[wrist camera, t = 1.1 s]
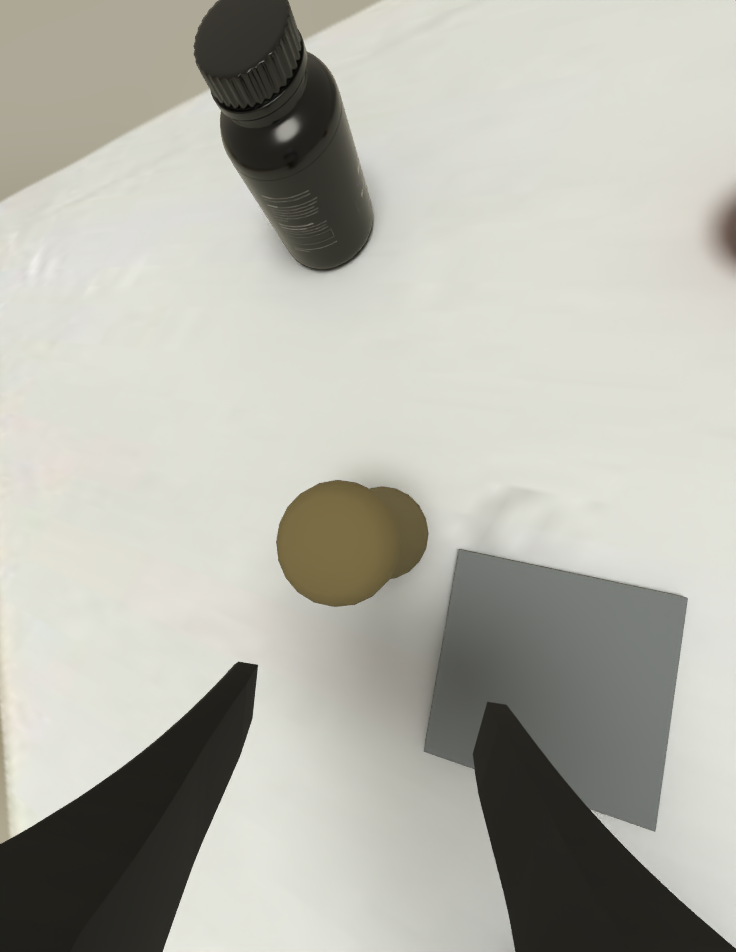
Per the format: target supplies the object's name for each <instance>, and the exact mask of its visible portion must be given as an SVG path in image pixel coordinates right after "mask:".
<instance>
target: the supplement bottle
mask: <svg viewBox="0 0 736 952" xmlns="http://www.w3.org/2000/svg"><path fill="white" fill-rule="evenodd" d="M194 49H195V51H194V56H195V59H196V64H197V66H198V68H199V70H200V72H201V74H202V76H203V77H204V79H205V81H206V83H207V85H208V86H209V88H210V90H211V94H212V97H213V99H214V101H215V102H216V104H217V105H218V107H219V108H220V110H221V115H220V129H221V137H222V142H223V145H224V148H225V151H226V153H227V155H228V157H229V158H230V160H231V162H232V163H233V165H234V167H235V168H236V170H237V171H238V173H239V175H240V176H241V178H242V179H243V181H244V182H245V184H246V185H247V187H248V189H249V190H250V192H251V193H252V195H253V196H254V198H255V199H256V201H257V203H258V204H259V206H260V207H261V209H262V210H263V212H264V213H265V215H266V217H267V218H268V220H269V221H270V223H271V224H272V226H273V227H274V229H275V231H276V232H277V234H278V235H279V237H280V238H281V240H282V241H283V243H284V245H285V246H286V247H287V249H288V250H289V252H290V253H291V254H292V256H293V257H294V258H295V259H296V260H297V261H299V262H300V263H301V264H303V265H305V266H308V267H311V268H315V269H328V268H333V267H336V266H339V265H341V264H343V263H345V262H347V261H348V260H350V259H351V258H352V257H354V256H355V255H356V254H357V253H358V252H359V251H360V249H361V248H362V247H363V245H364V244H365V242H366V241H367V239H368V236H369V234H370V231H371V228H372V222H373V210H372V205H371V201H370V197H369V193H368V190H367V186H366V183H365V179H364V176H363V172H362V169H361V165H360V162H359V158H358V155H357V151H356V148H355V144H354V141H353V137H352V134H351V130H350V127H349V123H348V120H347V116H346V113H345V109H344V106H343V102H342V99H341V95H340V92H339V89H338V86H337V84H336V81H335V79H334V77H333V75H332V73H331V72H330V70H329V69H328V68H327V67H326V65H325V64H324V63H323V62H322V61H321V60H320V59H318V58H317V57H316V56H314V55H313V54H311V53H309V52H307V51H306V48H305V45H304V42H303V39H302V36H301V34H300V32H299V30H298V29H297V26H296V23H295V20H294V17H293V14H292V11H291V8H290V5H289V2H288V0H219V1H217V2H216V3H215V5H214V6H213V7H212V8H211V9H210V10H209V11H208V13H207V15H206V16H205V17H204V18H203V20H202V23H201V25H200V26H199V27H198V32H197V34H196V36H195V43H194Z"/></svg>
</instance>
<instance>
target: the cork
mask: <svg viewBox="0 0 736 952" xmlns="http://www.w3.org/2000/svg"><path fill="white" fill-rule="evenodd" d="M427 539H428V529H427V523H426V518H425V516H424V514H423V512H422V510H421V508H420V506H419V505H418V504H417V503H416V502H415V501H414V500H413V499H412V498H411V497H410V496H409V495H407V494H405V493H403V492H401V491H399V490H397V489H395V488H388V487H377V488H371V489H368V488H366V487H364V486H362V485H360V484H358V483H355V482H348V481H341V480H335V481H329V482H324V483H319V484H317V485H315V486H314V487H312V488H310V489H308V490H306V491H304V492H303V493H301V494H300V495H299V496H298V497H297V498H296V499H295V500H294V501H293V502H292V503H291V504H290V505H289V506H288V507H287V509H286V511H285V513H284V515H283V517H282V519H281V522H280V524H279V529H278V535H277V541H276V544H277V552H278V561H279V563H280V565H281V568H282V570H283V572H284V575H285V577H286V579H287V580H288V581H289V582H290V584H291V585H292V586H293V587H294V588H295V589H296V591H297V592H298V593H300V594H301V595H303V596H305V597H306V598H308V599H309V600H311V601H313V602H315V603H319V604H324V605H328V606H334V607H338V606H347V605H355V604H357V603H359V602H361V601H364V600H366V599H368V598H370V597H372V596H373V595H374V594H375V593H376V592H377V591H378V590H379V589H380V588H381V587H382V586H383V585H384V584H385V583H386V582H387V581H388V580H389V579H393V578H397V577H399V576H401V575H403V574H405V573H407V572H409V571H410V570H411V569H412V568H413V567H414V566H415V565H416V564H417V563H418V562H419V561H420V559H421V557H422V555H423V553H424V551H425V549H426V545H427Z"/></svg>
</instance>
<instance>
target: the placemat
mask: <svg viewBox="0 0 736 952" xmlns="http://www.w3.org/2000/svg"><path fill="white" fill-rule="evenodd" d="M687 600H688V598H686V597H683V596H679V595H675V594H670V593H665V592H660V591H656V590H651V589H646V588H642V587H637V586H632V585H627V584H623V583H618V582H613V581H608V580H604V579H599V578H594V577H589V576H585V575H580V574H575V573H570V572H566V571H561V570H556V569H552V568H547V567H542V566H537V565H533V564H528V563H523V562H518V561H514V560H509V559H504V558H499V557H495V556H490V555H485V554H481V553H476V552H471V551H466V550H462V549H459V552H458V558H457V563H456V569H455V575H454V581H453V586H452V592H451V598H450V604H449V609H448V615H447V621H446V626H445V632H444V638H443V644H442V649H441V655H440V661H439V667H438V672H437V678H436V684H435V689H434V695H433V701H432V707H431V712H430V718H429V724H428V730H427V735H426V741H425V747H424V752H427V753H430V754H432V755H435V756H438V757H441V758H444V759H447V760H450V761H453V762H456V763H458V764H461V765H464V766H467V767H470V768H473V769H475V767H474V760H473V751H474V747H475V744H476V740H477V736H478V733H479V729H480V726H481V722H482V719H483V715H484V711H485V708H486V704H487V702H493V703H499V704H505V705H507V706H508V707H509V708H510V710H511V711H512V712H513V714H514V715H515V716H516V718H517V719H518V720H519V722H520V723H521V724H522V726H523V727H524V728H525V730H526V731H527V732H528V734H529V735H530V736H531V738H532V739H533V740H534V742H535V743H536V744H537V746H538V747H539V748H540V749H541V751H542V752H543V753H544V755H545V756H546V757H547V758H548V760H549V761H550V762H551V764H552V765H553V766H554V767H555V769H556V770H557V771H558V772H559V774H560V775H561V776H562V777H563V779H564V780H565V781H566V782H567V783H568V785H569V786H570V787H571V788H572V789H573V791H574V792H575V793H576V794H577V795H578V796H579V798H580V799H581V800H582V801H583V802H584V803H585V805H586V806H587V807H588V808H589V809H591V810H594V811H597V812H600V813H603V814H606V815H609V816H611V817H614V818H617V819H620V820H623V821H626V822H629V823H632V824H635V825H637V826H640V827H643V828H646V829H649V830H652V831H655V830H656V823H657V816H658V809H659V801H660V794H661V787H662V780H663V773H664V765H665V758H666V751H667V744H668V737H669V730H670V722H671V715H672V708H673V701H674V694H675V686H676V679H677V672H678V665H679V658H680V651H681V643H682V636H683V629H684V622H685V615H686V608H687Z"/></svg>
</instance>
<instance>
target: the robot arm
mask: <svg viewBox="0 0 736 952" xmlns="http://www.w3.org/2000/svg"><path fill="white" fill-rule="evenodd" d="M257 669H258V665H256V664H250V663H243V662H237V663H236V664H235V665H234V666H233V667H232V668H231V669H230V670H229V671H228V672H227V673H226V674H225V676H224V677H223V678H222V679H221V680H220V681H219V682H218V683H217V684H216V685H215V686H214V687H213V688H212V689H211V690H210V691H209V692H208V693H207V694H206V695H205V696H204V697H203V698H202V699H201V700H200V701H199V702H198V703H197V704H196V705H195V706H194V707H193V708H192V709H191V710H190V711H189V712H188V713H187V714H185V715H184V716H183V717H182V718H181V719H180V720H179V721H178V722H177V723H175V724H174V725H173V726H172V727H171V728H170V729H169V730H167V731H166V732H165V733H164V734H163V735H162V736H161V737H159V738H158V739H157V740H156V741H155V742H153V743H152V744H151V745H150V746H149V747H147V748H146V749H145V750H144V751H142V752H141V753H140V754H139V755H137V756H136V757H135V758H133V759H132V760H131V761H129V762H128V763H127V764H126V765H124V766H123V767H122V768H120V769H119V770H117V771H116V772H115V773H113V774H112V775H110V776H109V777H108V778H106V779H105V780H103V781H102V782H101V783H99V784H98V785H96V786H95V787H93V788H92V789H91V790H89V791H88V792H86V793H85V794H83V795H82V796H80V797H79V798H77V799H76V800H74V801H72V802H71V803H69V804H68V805H66V806H64V807H63V808H61V809H59V810H58V811H56V812H55V813H53V814H51V815H50V816H48V817H46V818H45V819H43V820H42V821H40V822H38V823H37V824H35V825H34V826H32V827H30V828H28V829H27V830H25V831H23V832H22V833H20V834H18V835H16V836H15V837H13V838H11V839H9V840H7V841H5V842H4V843H2V844H0V952H163V949H164V946H165V943H166V940H167V937H168V934H169V932H170V929H171V926H172V923H173V920H174V917H175V914H176V911H177V909H178V906H179V903H180V900H181V897H182V895H183V892H184V889H185V886H186V883H187V881H188V878H189V875H190V872H191V869H192V867H193V864H194V861H195V859H196V856H197V854H198V851H199V849H200V847H201V844H202V842H203V839H204V837H205V835H206V833H207V830H208V828H209V826H210V824H211V821H212V819H213V817H214V814H215V812H216V810H217V808H218V805H219V803H220V801H221V798H222V796H223V794H224V792H225V789H226V787H227V785H228V783H229V780H230V778H231V776H232V773H233V771H234V769H235V766H236V764H237V762H238V759H239V757H240V755H241V752H242V749H243V746H244V743H245V740H246V737H247V733H248V730H249V727H250V724H251V721H252V717H253V707H254V698H255V688H256V679H257ZM473 760H474V767H475V775H476V781H477V787H478V794H479V798H480V802H481V806H482V810H483V814H484V818H485V822H486V826H487V830H488V833H489V837H490V841H491V845H492V849H493V853H494V857H495V860H496V864H497V868H498V872H499V876H500V880H501V884H502V888H503V891H504V896H505V900H506V905H507V909H508V914H509V918H510V924H511V929H512V935H513V940H514V946H515V951H516V952H736V948H734V947H733V946H732V945H731V944H730V943H728V942H727V941H726V940H725V939H724V938H723V937H721V936H720V935H719V934H718V933H717V932H716V931H714V930H713V929H712V928H711V927H710V926H709V925H707V924H706V923H705V922H704V921H703V920H702V919H700V918H699V917H698V916H697V915H696V914H695V913H694V912H692V911H691V910H690V909H689V908H688V907H687V906H686V905H685V904H684V903H682V902H681V901H680V900H679V899H678V898H677V897H676V896H675V895H674V894H672V893H671V892H670V891H669V890H668V889H667V888H666V887H665V886H664V885H663V884H662V883H661V882H660V881H659V880H658V879H657V878H656V877H655V876H653V875H652V874H651V873H650V872H649V871H648V870H647V869H646V868H645V867H644V866H643V865H642V864H641V863H640V862H639V861H638V860H637V859H636V858H635V857H634V856H633V855H632V854H631V853H630V852H629V851H628V850H627V849H626V848H625V847H624V846H623V845H622V844H621V843H620V842H619V841H618V840H617V838H616V837H615V836H614V835H613V834H612V833H611V832H610V831H609V830H608V829H607V828H606V827H605V826H604V825H603V824H602V823H601V822H600V820H599V819H598V818H597V817H596V816H595V815H594V814H593V813H592V812H591V810H590V809H589V808H588V807H587V806H586V805H585V803H584V802H583V801H582V800H581V799H580V798H579V796H578V795H577V794H576V793H575V792H574V791H573V789H572V788H571V787H570V786H569V785H568V783H567V782H566V781H565V780H564V779H563V777H562V776H561V775H560V774H559V772H558V771H557V770H556V769H555V767H554V766H553V765H552V764H551V762H550V761H549V760H548V758H547V757H546V756H545V755H544V753H543V752H542V751H541V749H540V748H539V747H538V746H537V744H536V743H535V742H534V740H533V739H532V738H531V736H530V735H529V734H528V732H527V731H526V730H525V728H524V727H523V726H522V724H521V723H520V722H519V720H518V719H517V718H516V716H515V715H514V714H513V712H512V711H511V710H510V708H509V707H508V706H507V705H505V704H499V703H493V702H487V704H486V708H485V711H484V715H483V719H482V722H481V726H480V729H479V733H478V736H477V740H476V744H475V747H474V751H473Z"/></svg>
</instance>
